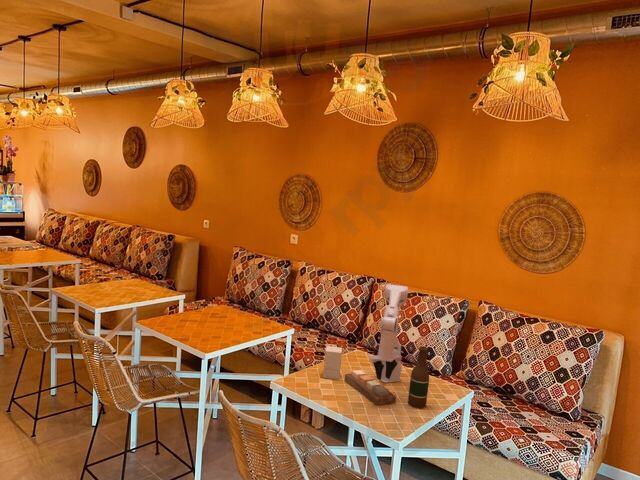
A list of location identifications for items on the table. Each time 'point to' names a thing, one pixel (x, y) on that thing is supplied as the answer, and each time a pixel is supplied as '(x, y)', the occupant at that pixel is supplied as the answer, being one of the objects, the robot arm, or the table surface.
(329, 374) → the supplement box
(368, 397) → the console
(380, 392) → the key slate
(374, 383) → the key sage
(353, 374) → the key ivory
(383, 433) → the table surface
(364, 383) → the key terracotta
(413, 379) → the beer bottle
